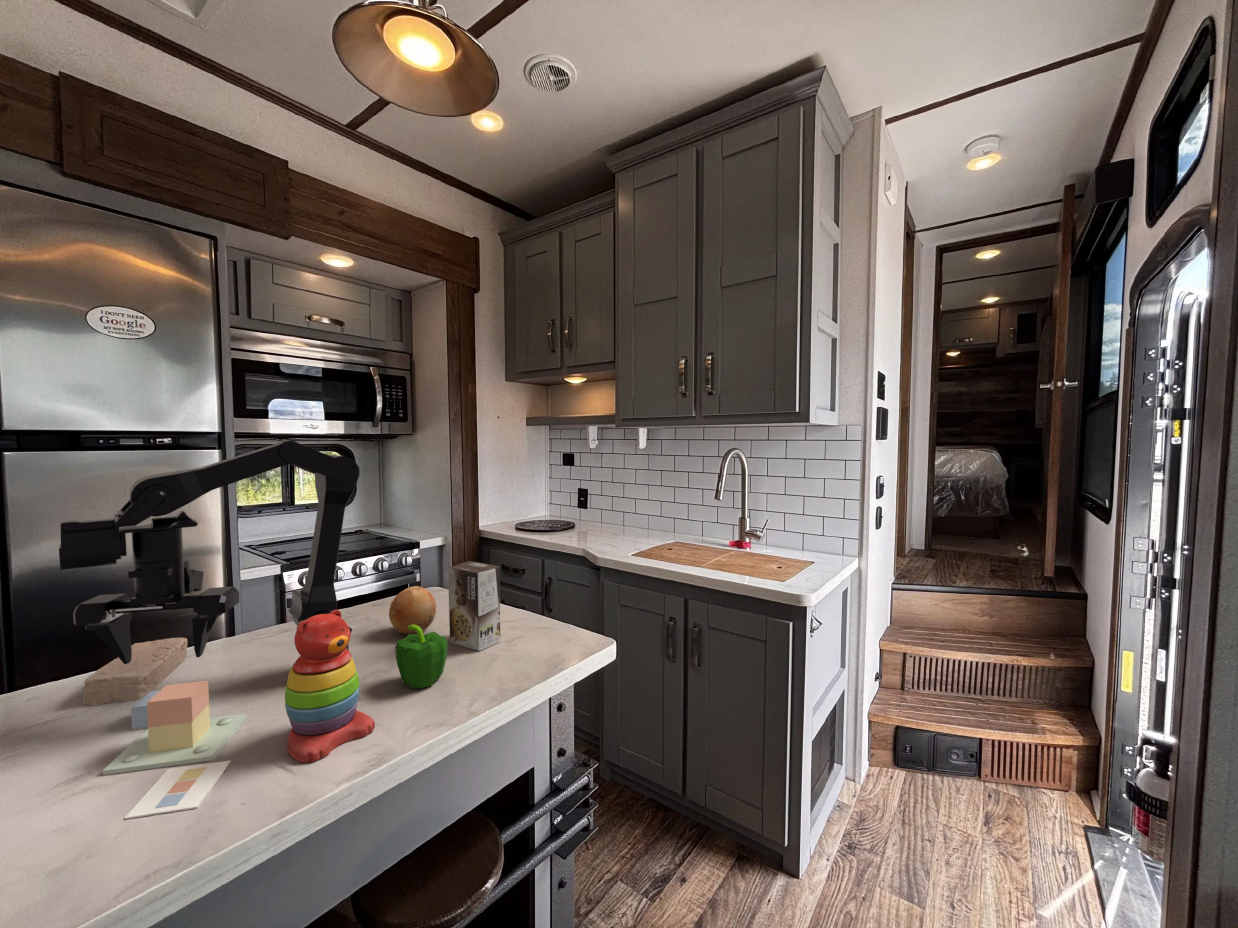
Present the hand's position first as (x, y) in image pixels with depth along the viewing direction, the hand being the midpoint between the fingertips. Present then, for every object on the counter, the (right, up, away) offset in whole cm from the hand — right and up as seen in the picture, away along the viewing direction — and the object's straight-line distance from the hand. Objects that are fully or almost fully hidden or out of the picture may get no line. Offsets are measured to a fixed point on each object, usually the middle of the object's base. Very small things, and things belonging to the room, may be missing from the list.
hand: (164, 659), depth 81 cm
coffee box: (+39, -8, +30) cm, 50 cm away
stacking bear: (+27, -10, -4) cm, 29 cm away
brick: (-15, -9, +12) cm, 21 cm away
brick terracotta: (+8, -5, -7) cm, 12 cm away
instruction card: (+16, -10, -16) cm, 25 cm away
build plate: (+8, -9, -7) cm, 14 cm away
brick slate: (0, -9, 0) cm, 9 cm away
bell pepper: (+35, -9, +12) cm, 38 cm away
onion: (+25, -7, +35) cm, 43 cm away
